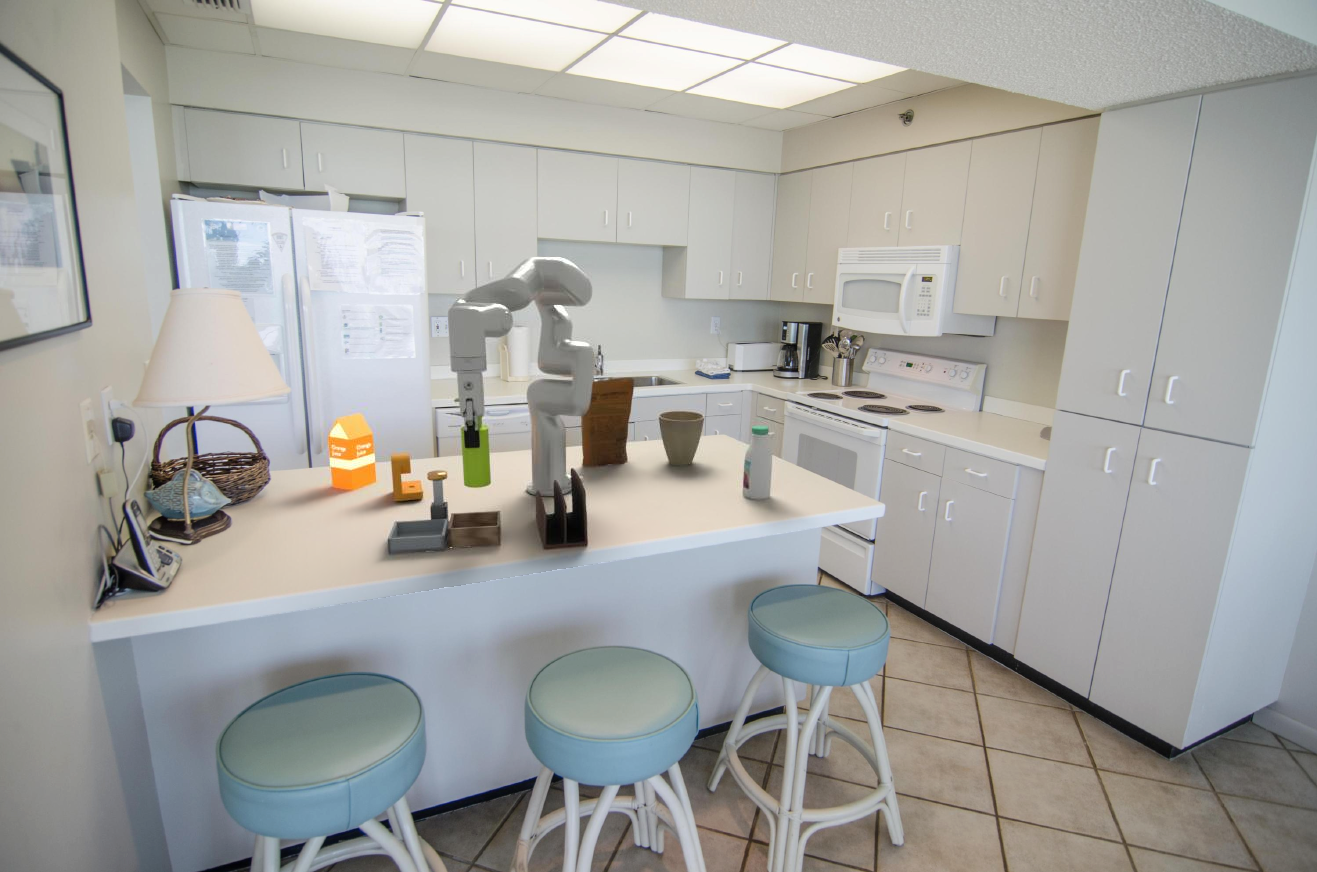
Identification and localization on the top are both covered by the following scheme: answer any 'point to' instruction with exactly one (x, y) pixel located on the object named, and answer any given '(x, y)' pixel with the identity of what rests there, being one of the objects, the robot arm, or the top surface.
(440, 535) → the tray
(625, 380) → the pancake mix bag
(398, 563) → the top surface
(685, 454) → the plant pot
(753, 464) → the milk bottle
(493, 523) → the wooden box
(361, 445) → the orange juice
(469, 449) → the soap dispenser
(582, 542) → the letter holder
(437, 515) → the plunger collar
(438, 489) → the plunger
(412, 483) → the bracket
